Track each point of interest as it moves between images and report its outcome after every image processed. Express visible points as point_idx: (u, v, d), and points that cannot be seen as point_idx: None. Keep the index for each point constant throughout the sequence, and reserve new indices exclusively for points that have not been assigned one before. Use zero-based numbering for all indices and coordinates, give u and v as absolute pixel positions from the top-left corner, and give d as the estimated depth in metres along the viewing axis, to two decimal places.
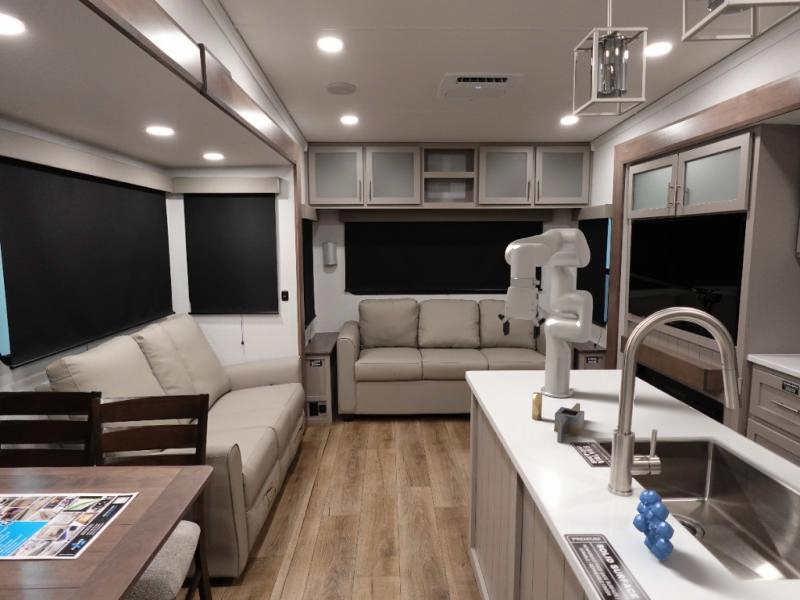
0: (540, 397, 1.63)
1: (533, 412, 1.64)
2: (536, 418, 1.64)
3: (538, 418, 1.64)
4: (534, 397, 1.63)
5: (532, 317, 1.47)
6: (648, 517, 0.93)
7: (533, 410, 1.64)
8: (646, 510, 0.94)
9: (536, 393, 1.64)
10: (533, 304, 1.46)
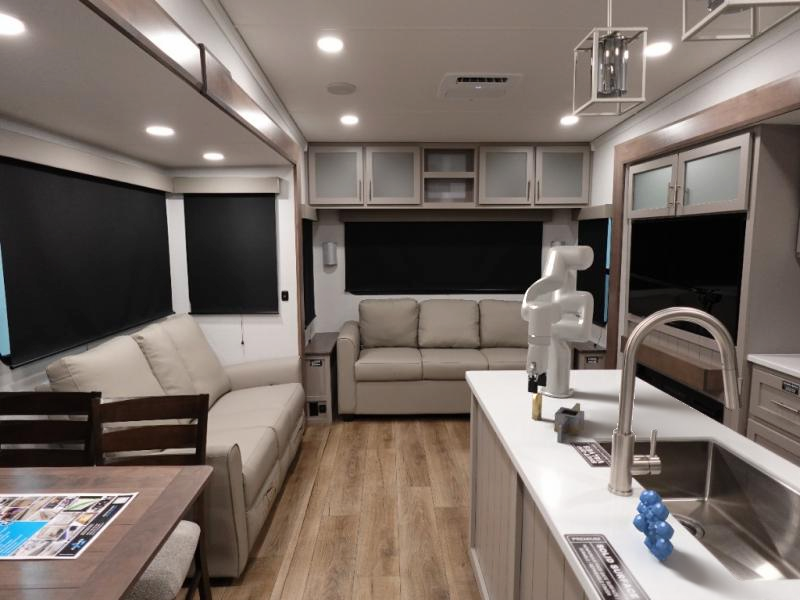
0: (540, 397, 1.63)
1: (533, 412, 1.64)
2: (536, 418, 1.64)
3: (538, 418, 1.64)
4: (534, 397, 1.63)
5: (547, 368, 1.65)
6: (648, 517, 0.93)
7: (533, 410, 1.64)
8: (646, 510, 0.94)
9: (536, 393, 1.64)
10: None
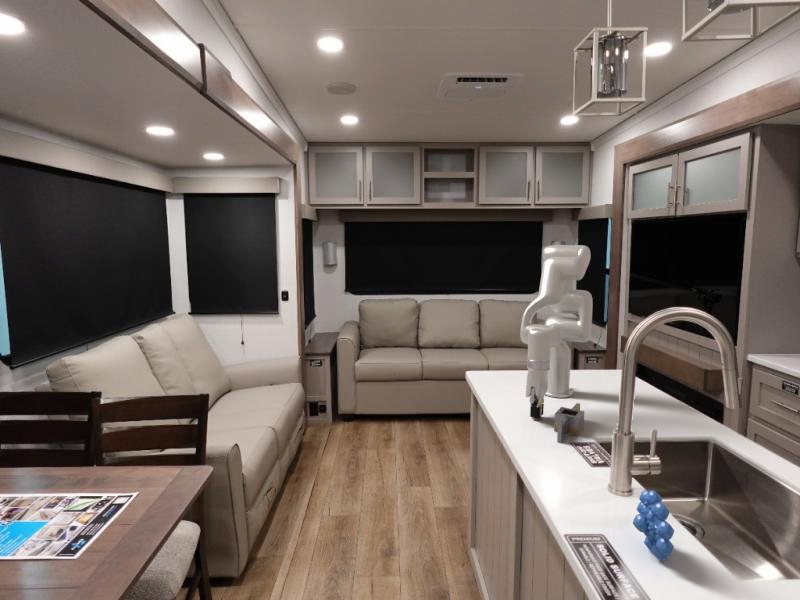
0: None
1: None
2: (536, 418, 1.64)
3: None
4: None
5: (546, 391, 1.66)
6: (648, 517, 0.93)
7: None
8: (646, 510, 0.94)
9: None
10: (547, 379, 1.66)
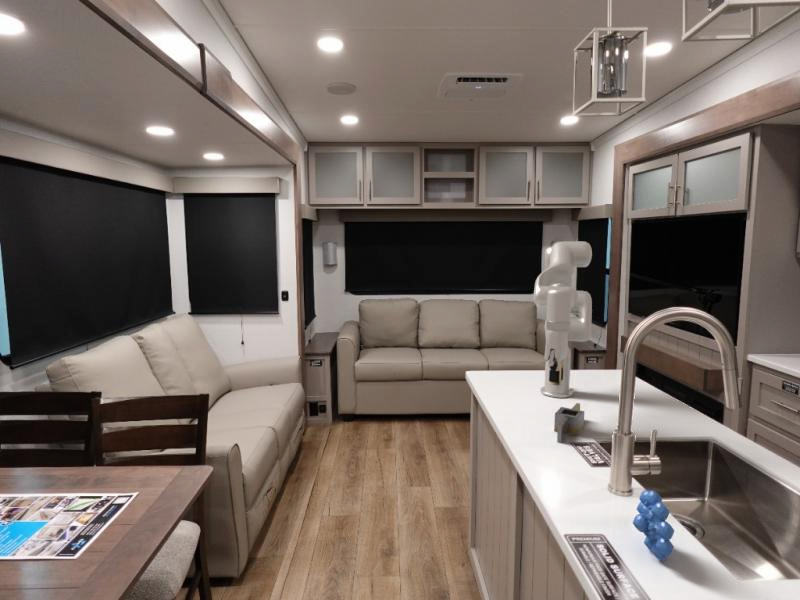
0: None
1: None
2: (555, 383, 1.56)
3: (557, 383, 1.56)
4: None
5: (566, 355, 1.59)
6: (648, 517, 0.93)
7: None
8: (646, 510, 0.94)
9: None
10: (567, 343, 1.58)
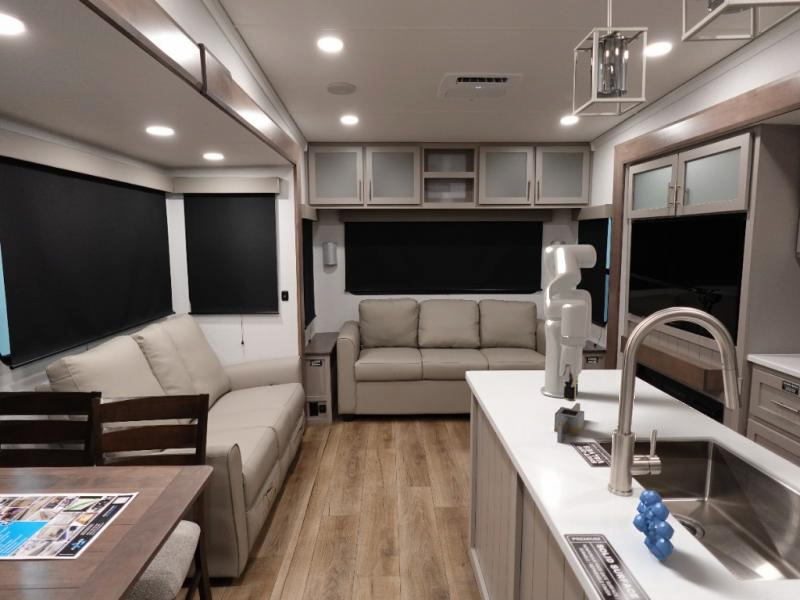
0: None
1: None
2: (570, 399, 1.52)
3: (572, 399, 1.52)
4: None
5: None
6: (648, 517, 0.93)
7: None
8: (646, 510, 0.94)
9: None
10: None
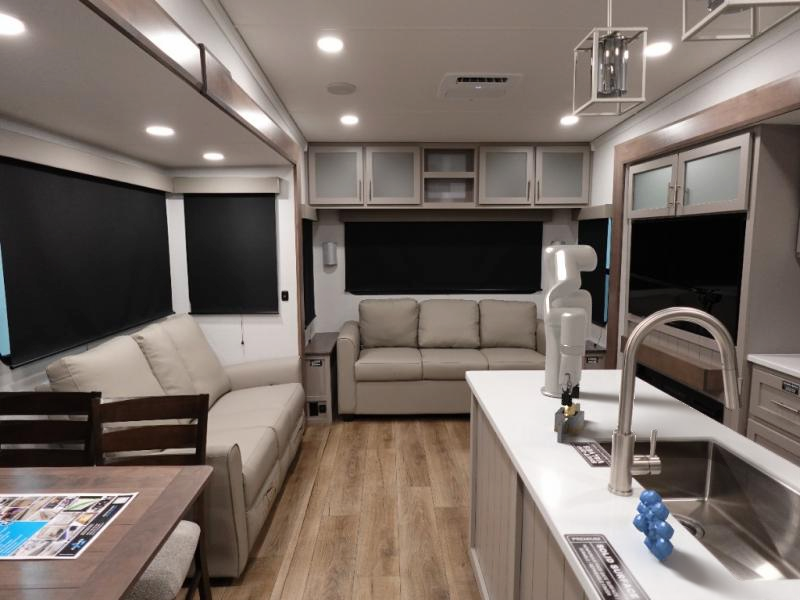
0: (573, 407, 1.53)
1: None
2: None
3: None
4: (566, 407, 1.53)
5: (580, 378, 1.56)
6: (648, 517, 0.93)
7: None
8: (646, 510, 0.94)
9: None
10: (581, 366, 1.55)
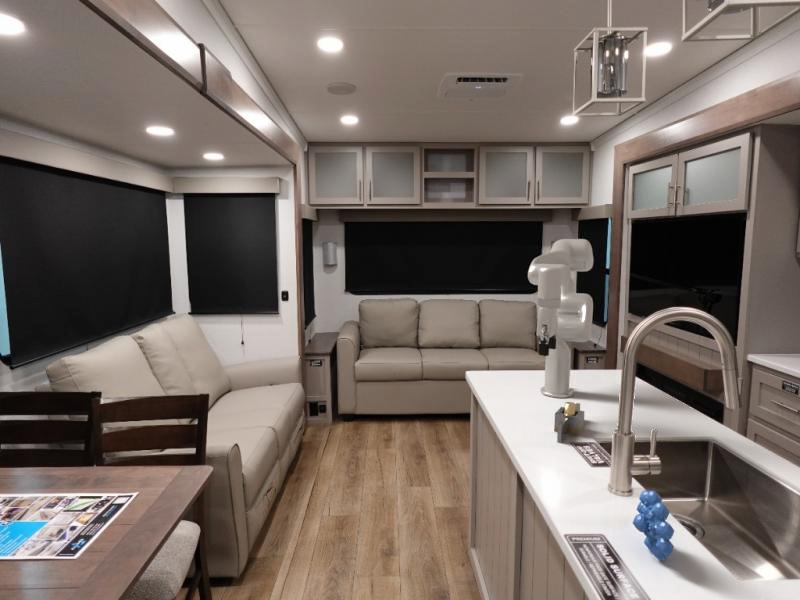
0: (573, 407, 1.53)
1: None
2: None
3: None
4: (567, 407, 1.53)
5: (556, 330, 1.64)
6: (648, 517, 0.93)
7: None
8: (646, 510, 0.94)
9: (568, 403, 1.55)
10: None
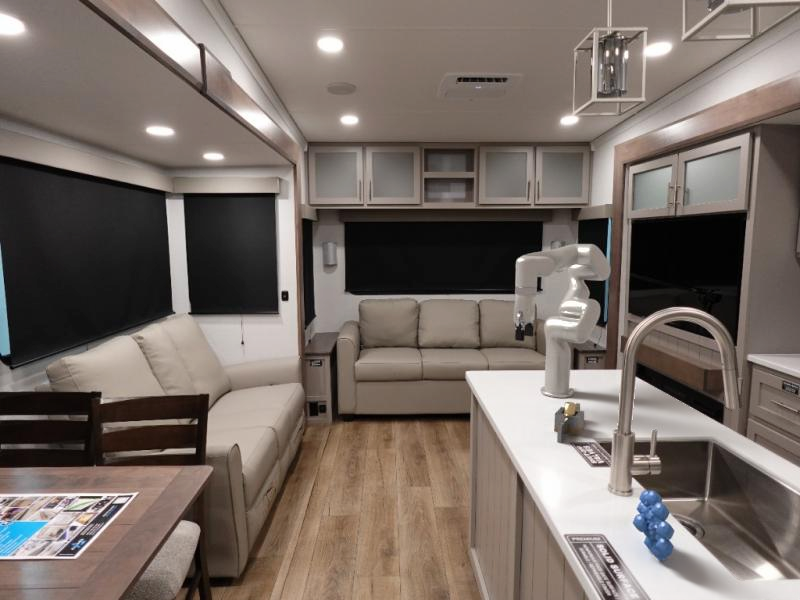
0: (573, 407, 1.53)
1: None
2: None
3: None
4: (567, 407, 1.53)
5: None
6: (648, 517, 0.93)
7: None
8: (646, 510, 0.94)
9: (568, 403, 1.55)
10: (534, 307, 1.74)
